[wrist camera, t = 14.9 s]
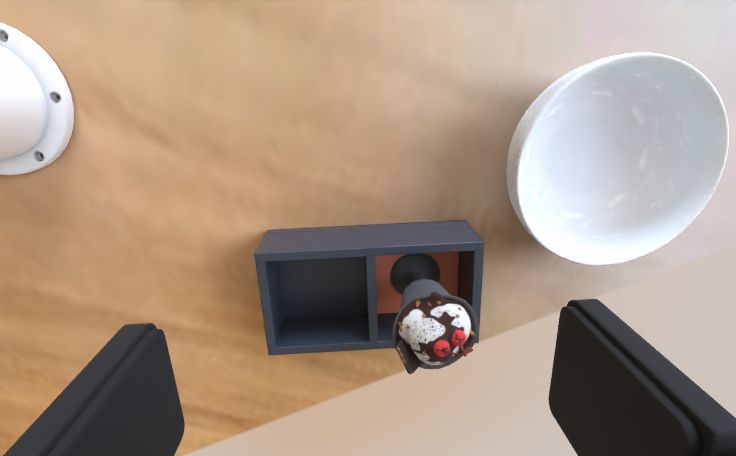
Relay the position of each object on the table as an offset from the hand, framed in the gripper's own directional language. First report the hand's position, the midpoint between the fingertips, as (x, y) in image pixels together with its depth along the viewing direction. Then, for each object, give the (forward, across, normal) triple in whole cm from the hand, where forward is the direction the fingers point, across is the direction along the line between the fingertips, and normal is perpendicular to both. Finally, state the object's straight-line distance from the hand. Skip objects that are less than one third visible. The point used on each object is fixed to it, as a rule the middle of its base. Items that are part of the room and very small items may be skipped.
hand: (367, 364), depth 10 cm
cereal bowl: (+30, -21, +1) cm, 37 cm away
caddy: (+30, -1, +12) cm, 32 cm away
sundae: (+29, -6, +12) cm, 32 cm away
